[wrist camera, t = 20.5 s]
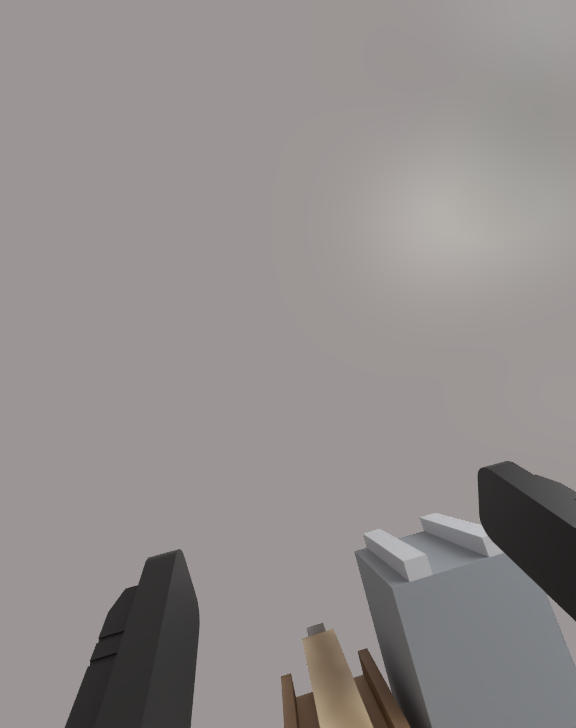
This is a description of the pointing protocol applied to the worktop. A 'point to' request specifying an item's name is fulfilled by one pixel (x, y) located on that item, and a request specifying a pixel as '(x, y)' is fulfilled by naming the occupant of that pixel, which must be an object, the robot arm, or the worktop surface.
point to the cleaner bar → (333, 682)
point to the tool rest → (371, 687)
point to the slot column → (465, 631)
